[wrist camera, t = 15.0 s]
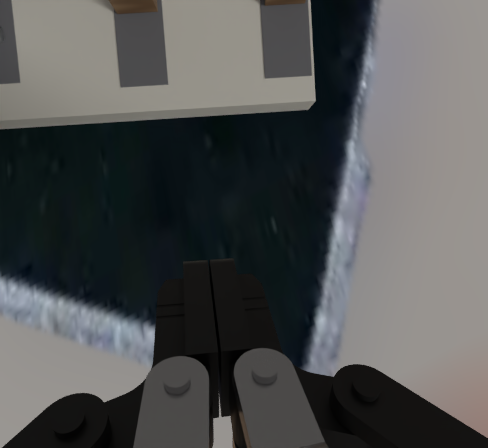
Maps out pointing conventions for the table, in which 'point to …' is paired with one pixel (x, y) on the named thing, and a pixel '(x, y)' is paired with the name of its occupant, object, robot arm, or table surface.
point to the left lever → (1, 35)
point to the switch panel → (151, 61)
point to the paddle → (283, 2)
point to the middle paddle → (134, 6)
